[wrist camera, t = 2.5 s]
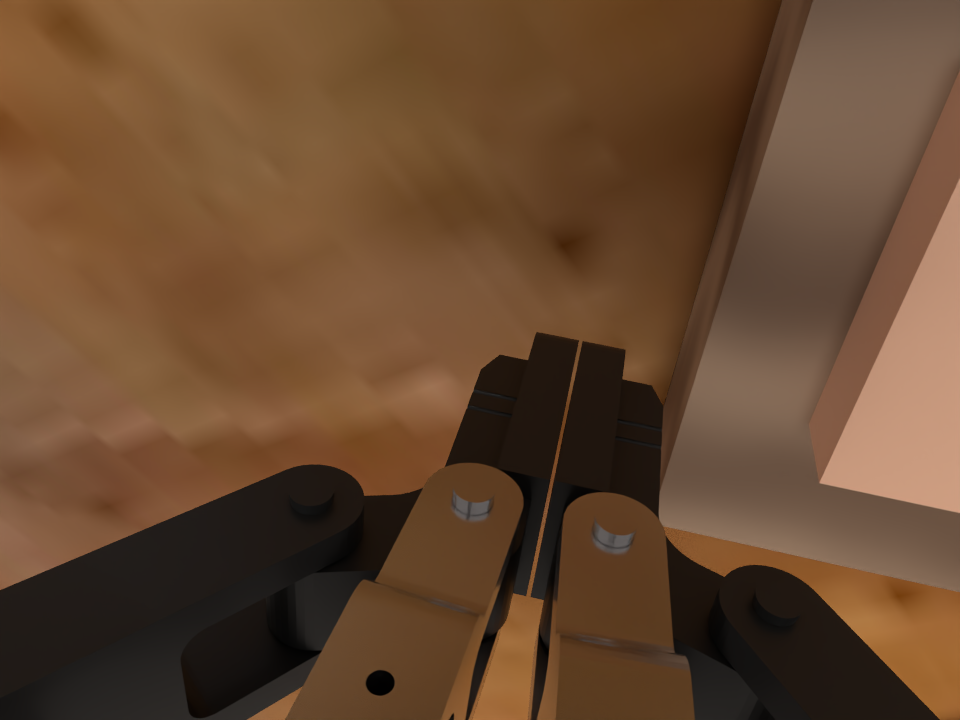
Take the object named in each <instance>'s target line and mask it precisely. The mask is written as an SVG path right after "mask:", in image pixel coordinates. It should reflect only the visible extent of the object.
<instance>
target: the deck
mask: <svg viewBox="0 0 960 720" xmlns="http://www.w3.org/2000/svg"><path fill="white" fill-rule="evenodd" d="M959 71H960V0H782V3H781V6H780V10H779V13H778V17H777V20H776V24H775V27H774V30H773V34H772V37H771V41H770V44H769V48H768V51H767V54H766V58H765V61H764V65H763V68H762V72H761V75H760V78H759V82H758V85H757V89H756V92H755V96H754V99H753V102H752V106H751V109H750V113H749V116H748V120H747V123H746V126H745V130H744V133H743V137H742V140H741V144H740V147H739V150H738V154H737V157H736V161H735V164H734V168H733V171H732V174H731V178H730V181H729V185H728V188H727V192H726V195H725V198H724V202H723V205H722V209H721V212H720V216H719V219H718V222H717V226H716V229H715V233H714V236H713V240H712V243H711V246H710V250H709V253H708V257H707V260H706V264H705V267H704V270H703V274H702V277H701V281H700V284H699V288H698V291H697V294H696V298H695V301H694V305H693V308H692V312H691V315H690V318H689V322H688V325H687V329H686V332H685V336H684V339H683V342H682V346H681V349H680V353H679V356H678V360H677V363H676V366H675V370H674V373H673V377H672V380H671V384H670V387H669V390H668V394H667V397H666V401H665V404H664V408H663V426H662V446H661V472H660V495H659V520H660V522H661V524H662V526H665V527H670V528H674V529H679V530H683V531H688V532H692V533H697V534H701V535H706V536H710V537H715V538H719V539H724V540H728V541H733V542H737V543H742V544H746V545H750V546H755V547H759V548H764V549H768V550H773V551H777V552H782V553H786V554H791V555H795V556H800V557H804V558H809V559H813V560H818V561H822V562H827V563H831V564H836V565H840V566H845V567H849V568H854V569H858V570H863V571H867V572H872V573H876V574H881V575H885V576H890V577H894V578H898V579H903V580H907V581H912V582H916V583H921V584H925V585H930V586H934V587H939V588H943V589H948V590H952V591H957V592H960V513H957V512H953V511H948V510H943V509H938V508H934V507H929V506H924V505H920V504H915V503H910V502H906V501H901V500H896V499H891V498H887V497H882V496H877V495H873V494H868V493H863V492H859V491H854V490H849V489H844V488H840V487H835V486H830V485H826V484H821V483H819V479H818V473H817V468H816V462H815V457H814V451H813V446H812V440H811V435H810V429H809V422H810V420H811V417H812V415H813V413H814V410H815V408H816V406H817V403H818V401H819V399H820V396H821V394H822V392H823V389H824V387H825V385H826V382H827V380H828V378H829V375H830V373H831V371H832V368H833V366H834V364H835V361H836V359H837V357H838V354H839V352H840V349H841V347H842V345H843V342H844V340H845V338H846V335H847V333H848V331H849V328H850V326H851V324H852V321H853V319H854V317H855V314H856V312H857V310H858V307H859V305H860V303H861V300H862V298H863V296H864V293H865V291H866V289H867V286H868V284H869V282H870V279H871V277H872V274H873V272H874V270H875V267H876V265H877V263H878V260H879V258H880V256H881V253H882V251H883V249H884V246H885V244H886V242H887V239H888V237H889V235H890V232H891V230H892V228H893V225H894V223H895V221H896V218H897V216H898V214H899V211H900V209H901V207H902V204H903V202H904V199H905V197H906V195H907V192H908V190H909V188H910V185H911V183H912V181H913V178H914V176H915V174H916V171H917V169H918V167H919V164H920V162H921V160H922V157H923V155H924V153H925V150H926V148H927V146H928V143H929V141H930V139H931V136H932V134H933V132H934V129H935V127H936V124H937V122H938V120H939V117H940V115H941V113H942V110H943V108H944V106H945V103H946V101H947V99H948V96H949V94H950V92H951V89H952V87H953V85H954V82H955V80H956V78H957V75H958V73H959Z"/></svg>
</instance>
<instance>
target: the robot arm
mask: <svg viewBox="0 0 960 720" xmlns="http://www.w3.org/2000/svg"><path fill="white" fill-rule="evenodd" d="M578 342H579V340H574V339H569V338H564V337H559V336H554V335H549V334H544V333H539V332H537V333H536V335H535V339H534V342H533V345H532V349H531V352H530V356H529V359H528V360H523V359H518V358H513V357H509V356H504V355H499V356H498V357H496V358H495V359H494V360H492V361H491V362H490V363H489V364H487V365H486V366H485V367H484V368H482V369H481V371H480V374H479V377H478V379H477V382H476V385H475V387H474V391H473V393H472V395H471V398H470V401H469V404H468V408H467V409H466V412H465V414H464V417H463V420H462V422H461V425H460V428H459V430H458V433H457V436H456V439H455V441H454V444H453V447H452V449H451V452H450V455H449V457H448V460H447V463H446V465H445V467H444V468H442V469H440V470H438V471H437V472H435V473H434V474H433V475H432V476H431V477H430V478H429V479H428V480H427V482H426V483H425V485H424V487H423V488H421V489H419V490H416V491H413V492H410V493H405V494H400V495H380V496H364V493H363V490H362V488H361V486H360V484H359V483H358V482H357V480H356V479H354V478H353V477H352V476H351V475H350V474H348V473H346V472H345V471H342V470H340V469H338V468H335V467H331V466H326V465H302V466H297V467H293V468H290V469H287V470H285V471H282V472H280V473H278V474H275V475H273V476H270V477H268V478H266V479H263V480H261V481H259V482H256V483H254V484H251V485H249V486H247V487H244V488H242V489H240V490H237V491H235V492H232V493H230V494H228V495H225V496H223V497H221V498H218V499H216V500H213V501H211V502H209V503H206V504H204V505H202V506H199V507H197V508H194V509H192V510H190V511H187V512H185V513H183V514H180V515H178V516H175V517H173V518H171V519H168V520H166V521H164V522H161V523H159V524H156V525H154V526H152V527H149V528H147V529H145V530H142V531H140V532H137V533H135V534H133V535H130V536H128V537H126V538H123V539H121V540H118V541H116V542H114V543H111V544H109V545H107V546H104V547H102V548H99V549H97V550H95V551H92V552H90V553H88V554H85V555H83V556H80V557H78V558H76V559H73V560H71V561H69V562H66V563H64V564H61V565H59V566H57V567H54V568H52V569H50V570H47V571H45V572H42V573H40V574H38V575H35V576H33V577H31V578H28V579H26V580H23V581H21V582H19V583H16V584H14V585H12V586H9V587H7V588H5V589H2V590H0V720H247V719H248V718H250V717H252V716H253V715H255V714H257V713H258V712H260V711H262V710H264V709H265V708H267V707H269V706H270V705H272V704H274V703H275V702H277V701H279V700H280V699H282V698H284V697H285V696H287V695H289V694H290V693H292V692H294V691H295V690H297V689H299V688H301V687H302V686H303V687H302V689H301V691H300V693H299V695H298V696H297V698H296V700H295V702H294V704H293V706H292V708H291V710H290V711H289V713H288V715H287V717H286V719H285V720H472V719H473V716H474V713H475V710H476V707H477V704H478V701H479V698H480V695H481V692H482V688H483V685H484V682H485V679H486V676H487V673H488V670H489V667H490V664H491V661H492V658H493V655H494V652H495V649H496V646H497V643H498V640H499V635H500V630H501V627H502V626H503V624H504V623H505V621H506V619H507V616H508V612H509V608H510V603H511V599H512V595H513V593H515V594H519V595H524V596H526V594H527V589H528V585H529V580H530V575H531V570H532V565H533V561H534V556H535V551H536V546H537V541H538V536H539V532H540V527H541V522H542V517H543V512H544V507H545V503H546V498H547V493H548V488H549V483H550V479H551V474H552V469H553V464H554V459H555V454H556V450H557V445H558V440H559V435H560V430H561V425H562V421H563V416H564V411H565V406H566V401H567V396H568V391H569V386H570V381H571V376H572V372H573V367H574V362H575V357H576V352H577V347H578ZM624 360H625V350H624V349H620V348H614V347H609V346H604V345H599V344H594V343H589V342H584V341H583V342H582V347H581V352H580V357H579V361H578V366H577V371H576V376H575V381H574V386H573V390H572V395H571V400H570V405H569V410H568V414H567V419H566V424H565V429H564V434H563V439H562V444H561V449H560V454H559V459H558V463H557V468H556V473H555V478H554V483H553V488H552V493H551V498H550V503H549V508H548V513H547V518H546V523H545V528H544V533H543V538H542V543H541V548H540V553H539V558H538V563H537V568H536V573H535V578H534V583H533V588H532V593H531V597H533V598H537V599H542V600H544V603H543V608H542V614H541V619H540V624H539V629H538V633H537V638H536V642H535V647H534V657H533V668H532V678H531V689H530V700H529V711H528V720H940V719H939V718H938V717H937V716H936V715H935V714H934V713H933V712H932V711H931V710H930V709H929V708H928V707H927V706H926V705H925V704H924V703H923V702H922V701H921V700H920V699H919V698H918V697H917V696H916V695H915V694H914V693H913V692H912V691H911V690H910V689H909V688H908V687H907V686H906V684H905V683H904V682H903V681H902V680H901V679H900V678H899V677H898V676H897V675H896V674H895V673H894V672H893V671H892V670H891V669H890V668H889V667H888V666H887V665H886V664H885V663H884V662H883V661H882V660H881V659H880V658H879V657H878V656H877V655H876V654H875V653H874V652H873V651H872V650H871V648H870V647H869V646H868V645H867V644H866V643H865V642H864V641H863V640H862V639H861V638H860V637H859V636H858V635H857V634H856V633H855V632H854V631H853V630H852V629H851V628H850V627H849V626H848V625H847V624H846V623H845V622H844V621H843V620H842V619H841V618H840V617H839V616H838V615H837V614H836V612H835V611H834V610H833V609H832V608H831V607H830V606H829V605H828V604H827V603H826V602H825V601H824V600H823V599H822V598H821V597H820V596H819V595H818V594H817V593H816V592H815V591H814V590H813V589H812V588H811V587H810V586H808V585H807V584H806V583H804V582H803V581H802V580H800V579H799V578H797V577H795V576H793V575H792V574H789V573H787V572H785V571H783V570H780V569H776V568H773V567H768V566H762V565H749V566H743V567H739V568H737V569H735V570H733V571H731V572H730V573H729V574H727V575H726V576H725V577H723V576H721V575H719V574H717V573H715V572H713V571H711V570H709V569H707V568H705V567H703V566H701V565H699V564H697V563H696V562H694V561H692V560H690V559H689V558H688V557H686V556H685V555H683V554H682V553H681V552H680V551H679V550H678V549H676V548H675V547H674V545H673V544H672V543H671V542H670V541H669V540H668V538H667V537H666V535H665V530H664V528H663V526H662V524H661V522H660V520H659V495H660V472H661V446H662V426H663V405H662V404H661V402H660V400H659V398H658V396H657V395H656V393H655V391H654V389H653V387H652V386H651V385H647V384H642V383H637V382H632V381H627V380H622V377H623V369H624Z"/></svg>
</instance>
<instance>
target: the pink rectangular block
mask: <svg viewBox="0 0 960 720" xmlns="http://www.w3.org/2000/svg"><path fill="white" fill-rule="evenodd" d="M809 429H810V435H811V440H812V446H813V451H814V457H815V462H816V468H817V473H818V479H819V483H821V484H826V485H830V486H835V487H840V488H844V489H849V490H854V491H859V492H863V493H868V494H873V495H877V496H882V497H887V498H891V499H896V500H901V501H906V502H910V503H915V504H920V505H924V506H929V507H934V508H938V509H943V510H948V511H953V512H957V513H960V71H959V73H958V75H957V78H956V80H955V82H954V85H953V87H952V89H951V92H950V94H949V96H948V99H947V101H946V103H945V106H944V108H943V110H942V113H941V115H940V117H939V120H938V122H937V124H936V127H935V129H934V132H933V134H932V136H931V139H930V141H929V143H928V146H927V148H926V150H925V153H924V155H923V157H922V160H921V162H920V164H919V167H918V169H917V171H916V174H915V176H914V178H913V181H912V183H911V185H910V188H909V190H908V192H907V195H906V197H905V199H904V202H903V204H902V207H901V209H900V211H899V214H898V216H897V218H896V221H895V223H894V225H893V228H892V230H891V232H890V235H889V237H888V239H887V242H886V244H885V246H884V249H883V251H882V253H881V256H880V258H879V260H878V263H877V265H876V267H875V270H874V272H873V274H872V277H871V279H870V282H869V284H868V286H867V289H866V291H865V293H864V296H863V298H862V300H861V303H860V305H859V307H858V310H857V312H856V314H855V317H854V319H853V321H852V324H851V326H850V328H849V331H848V333H847V335H846V338H845V340H844V342H843V345H842V347H841V349H840V352H839V354H838V357H837V359H836V361H835V364H834V366H833V368H832V371H831V373H830V375H829V378H828V380H827V382H826V385H825V387H824V389H823V392H822V394H821V396H820V399H819V401H818V403H817V406H816V408H815V410H814V413H813V415H812V417H811V420H810V422H809Z"/></svg>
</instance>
